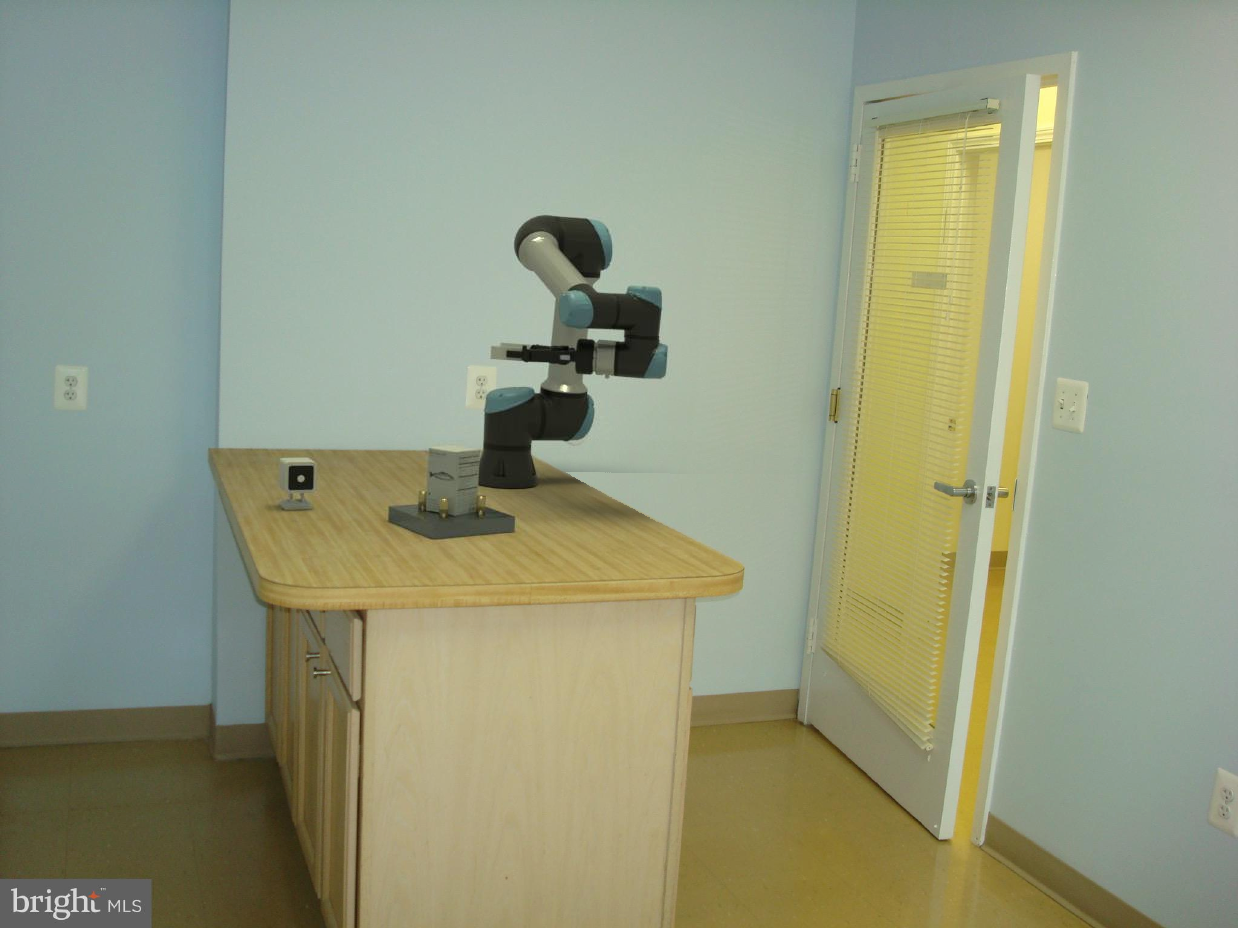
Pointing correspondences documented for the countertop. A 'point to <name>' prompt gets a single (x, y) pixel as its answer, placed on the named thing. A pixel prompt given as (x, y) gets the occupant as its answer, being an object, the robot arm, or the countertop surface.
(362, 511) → the countertop surface
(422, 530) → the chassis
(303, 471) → the security camera
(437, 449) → the supplement box
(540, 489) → the countertop surface
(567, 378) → the robot arm
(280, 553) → the countertop surface
